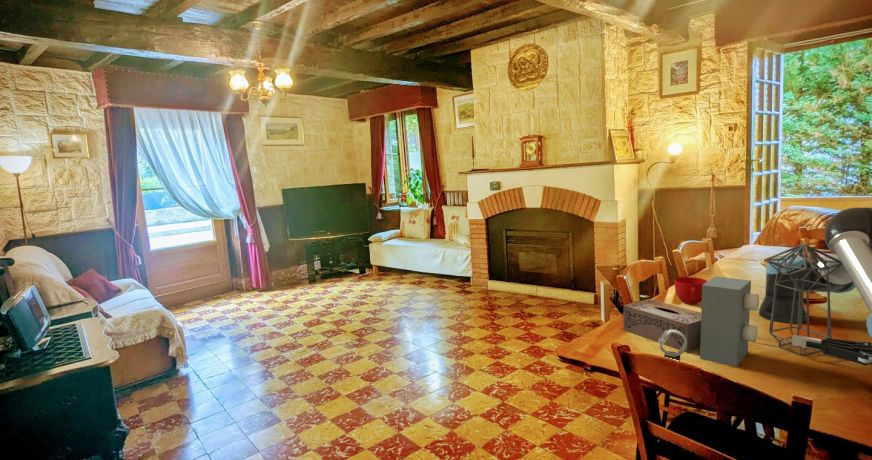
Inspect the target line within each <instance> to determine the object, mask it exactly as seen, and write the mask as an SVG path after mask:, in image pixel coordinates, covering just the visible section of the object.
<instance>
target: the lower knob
mask: <svg viewBox="0 0 872 460" xmlns="http://www.w3.org/2000/svg"><path fill="white" fill-rule="evenodd" d="M742 339H743V340H745V341H748V342H750V343H756V342H757V339H758V326H757V325H751V324H749V325H747V324H745V325H744V327H743V328H742Z"/></svg>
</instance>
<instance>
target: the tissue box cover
mask: <svg viewBox="0 0 872 460" xmlns="http://www.w3.org/2000/svg"><path fill="white" fill-rule="evenodd" d="M622 311H623V317H622V318H623V324H622V325H623V326H622V327H623V330H622V331H624V330H625V332H627V331H628V332H627V333H630V334H632V333H633V335H636V336H639V337H641V338H643V339H644V338H645V339H647V340H650V341H652V342H655V343H658V341H659V339H660V337H661V335H662V334H663V333H664V332H665V331H666V330H667V331H668V330H671V329H673V330H678V331H680V332H681V333H683V334H684V336H685V337H686V340H687V347H686V349H685V351H684V352H683V353H687V354H688V353H690V352H694V351H696V350H700V342H701V311H697V310H693V309H691V308H690V309H689V308H686V307H684V306H683V307H682V306H678V305H674V304H671V303H666V302H663V301H660V300H657V299H652V298H647V299H642V300H640V301H635V302H631V303H626V304H624V305H623V310H622ZM684 342H685V340H684V338H683V337H682V336H680V335H679V334H677V333H671V334H670V336H669V338H668V340H667V341H666V342H665V343H664V344H663V345H662V346H667V347H669V348H673V349H675V350H678V351H679V350H680V349H681V348H682V346H683V345H684Z"/></svg>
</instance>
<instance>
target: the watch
mask: <svg viewBox="0 0 872 460" xmlns="http://www.w3.org/2000/svg"><path fill="white" fill-rule="evenodd" d="M671 333H677V334H679V335H680V336H682V337H683V338H684V340H685V342H684V345H683V346H682V348H681V349H680V350H678V352H677V351H670V350H668V351H667V350H665V349H664V348H663V346H664V345H663V344H664V343H665V342H666V341H667V340H668V338H669V336H670V334H671ZM657 343H658V346H659V347H658V348H659V349H660V351H661V352H662V353H663V354H664V357H668V358H672V359H676V360H679V361H680V362H681V355H683V354H684V353H685V352H684V351H685V349H686V347H687V340H686V337H685V336H684V334H683V333H681V332H680V331H678V330H673V329H671V330H668V331H667V330H666V331H665V332H664V333H663V334H662V335H661V337H660V339H659V341H658V342H657Z"/></svg>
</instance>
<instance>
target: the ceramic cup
mask: <svg viewBox="0 0 872 460" xmlns="http://www.w3.org/2000/svg"><path fill="white" fill-rule="evenodd" d="M673 281H674V290H675V293H676V296H677V297H678V299H679V300H680V301H681V302H682V304H685V305H693V306H695V305H699V304H700V303H702V285H703V284H705V283H706V282H708V281H709V280H707V279H704V278H702V277H701V278H700V277H695V276H692V277H691V276H679V277H676V278H674V280H673Z"/></svg>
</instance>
